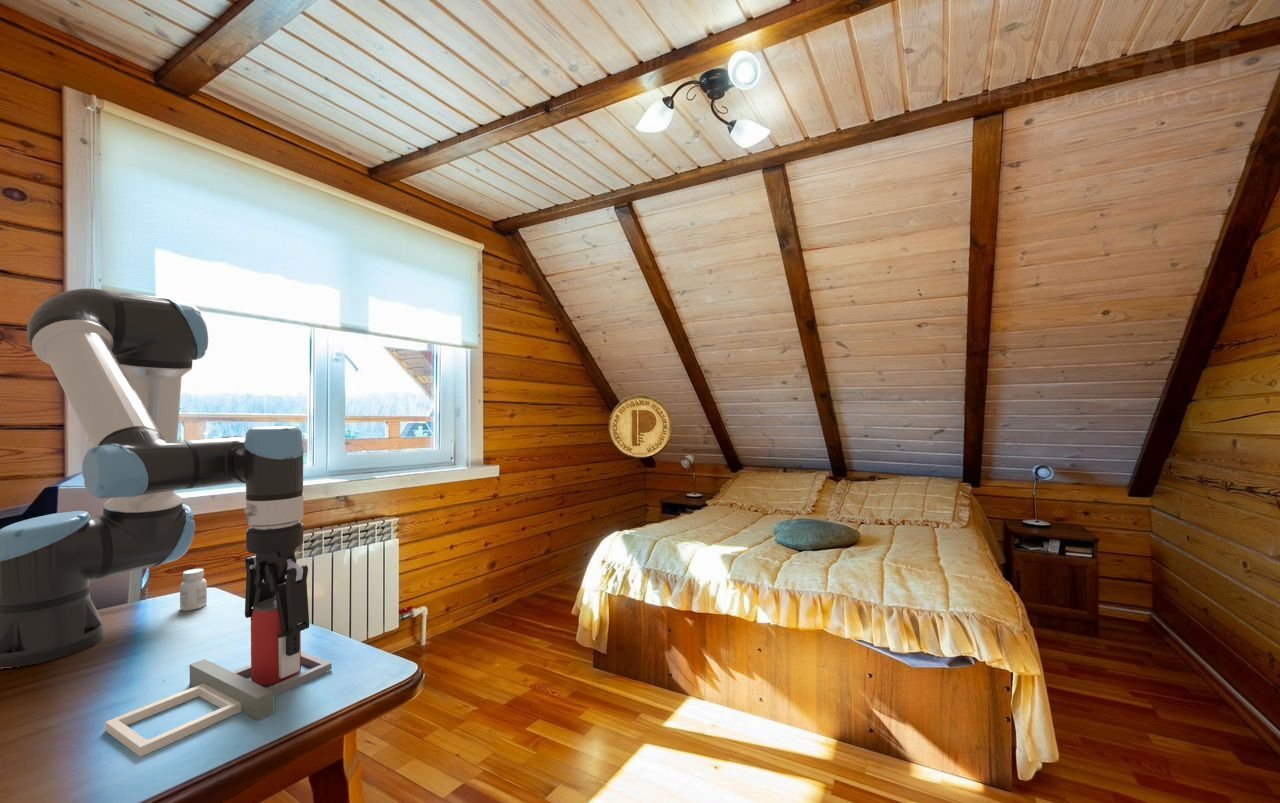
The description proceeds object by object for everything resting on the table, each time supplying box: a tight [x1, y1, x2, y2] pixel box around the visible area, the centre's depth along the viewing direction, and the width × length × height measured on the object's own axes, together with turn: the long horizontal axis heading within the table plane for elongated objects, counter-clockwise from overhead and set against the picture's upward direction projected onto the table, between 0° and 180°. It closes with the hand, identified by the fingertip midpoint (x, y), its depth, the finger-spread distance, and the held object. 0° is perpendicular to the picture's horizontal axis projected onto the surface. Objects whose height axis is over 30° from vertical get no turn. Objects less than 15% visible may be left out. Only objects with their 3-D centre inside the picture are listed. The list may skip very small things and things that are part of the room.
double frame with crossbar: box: [104, 650, 333, 758], centre depth 80 cm, size 20×24×3 cm
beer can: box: [250, 597, 302, 688], centre depth 85 cm, size 7×7×12 cm
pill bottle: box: [179, 568, 208, 612], centre depth 114 cm, size 4×4×8 cm
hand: (276, 668), depth 85 cm, fingers closed on beer can, 7 cm apart
